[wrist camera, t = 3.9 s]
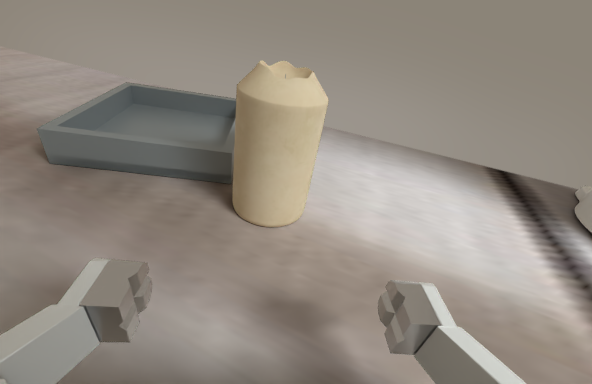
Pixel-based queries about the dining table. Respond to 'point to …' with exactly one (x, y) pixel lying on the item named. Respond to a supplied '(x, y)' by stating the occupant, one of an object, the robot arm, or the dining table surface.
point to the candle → (276, 142)
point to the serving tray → (147, 134)
